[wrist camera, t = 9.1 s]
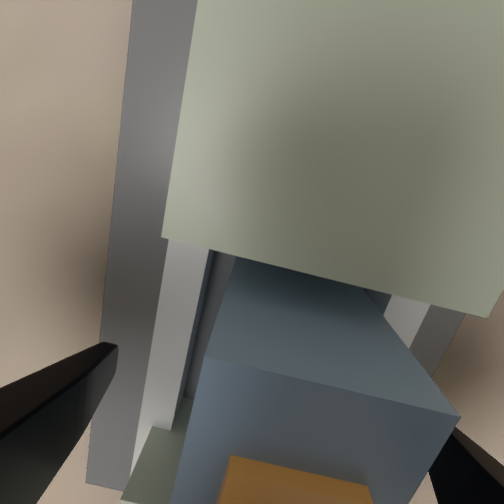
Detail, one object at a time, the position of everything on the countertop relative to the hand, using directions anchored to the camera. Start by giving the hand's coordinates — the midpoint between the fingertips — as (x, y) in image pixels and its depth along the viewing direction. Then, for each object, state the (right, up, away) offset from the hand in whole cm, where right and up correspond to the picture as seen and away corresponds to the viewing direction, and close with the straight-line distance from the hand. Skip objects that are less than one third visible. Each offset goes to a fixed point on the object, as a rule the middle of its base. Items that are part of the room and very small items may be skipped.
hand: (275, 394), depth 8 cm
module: (0, +1, +3) cm, 3 cm away
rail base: (0, +1, +4) cm, 4 cm away
